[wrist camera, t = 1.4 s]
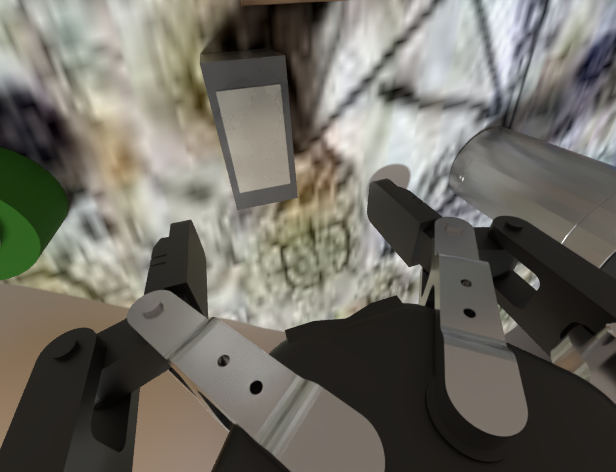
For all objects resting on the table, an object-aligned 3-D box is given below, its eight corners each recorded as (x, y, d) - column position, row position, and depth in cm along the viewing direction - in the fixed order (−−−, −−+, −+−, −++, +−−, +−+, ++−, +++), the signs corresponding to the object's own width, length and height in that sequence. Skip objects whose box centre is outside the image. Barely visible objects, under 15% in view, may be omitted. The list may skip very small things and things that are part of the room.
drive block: (267, 47, 21) (285, 55, 16) (281, 168, 27) (297, 198, 23) (200, 53, 20) (199, 63, 15) (231, 177, 26) (237, 210, 22)
